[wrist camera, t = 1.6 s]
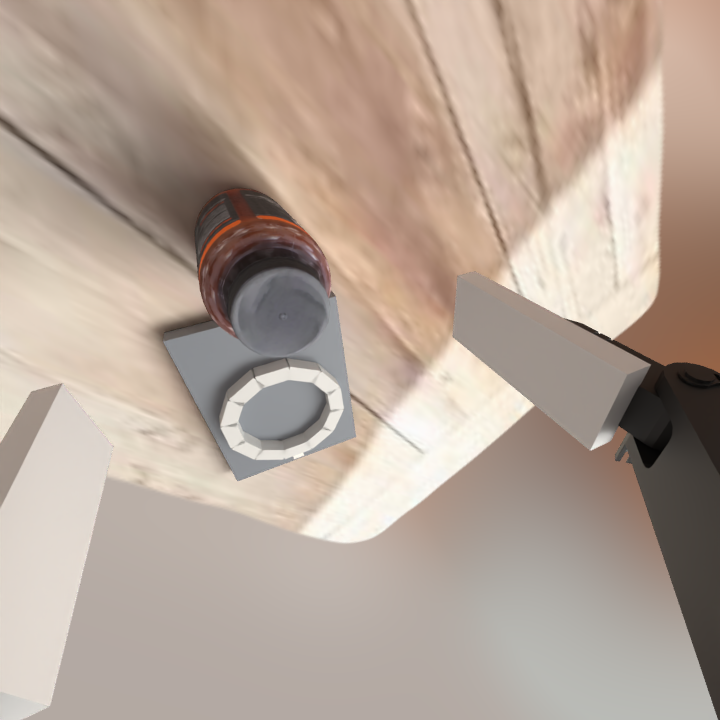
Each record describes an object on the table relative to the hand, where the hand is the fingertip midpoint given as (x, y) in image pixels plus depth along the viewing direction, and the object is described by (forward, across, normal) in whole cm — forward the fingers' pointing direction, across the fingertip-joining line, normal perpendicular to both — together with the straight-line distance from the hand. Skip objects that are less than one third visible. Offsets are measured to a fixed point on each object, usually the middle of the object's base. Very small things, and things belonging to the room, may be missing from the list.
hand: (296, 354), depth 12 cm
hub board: (+14, -1, -12) cm, 19 cm away
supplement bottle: (+14, 0, +1) cm, 14 cm away
